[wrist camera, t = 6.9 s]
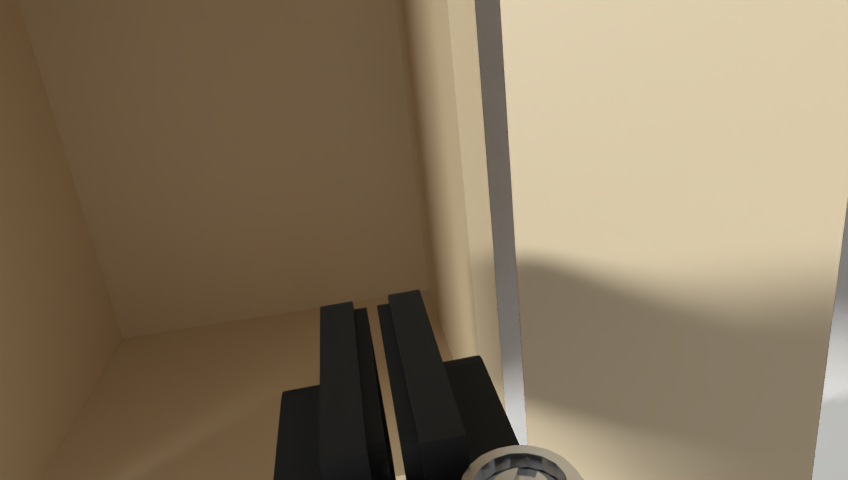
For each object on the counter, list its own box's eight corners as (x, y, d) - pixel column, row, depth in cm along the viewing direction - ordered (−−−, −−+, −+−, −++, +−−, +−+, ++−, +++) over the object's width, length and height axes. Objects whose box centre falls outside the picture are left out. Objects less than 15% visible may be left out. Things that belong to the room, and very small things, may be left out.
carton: (-45, -159, 18) (-415, -306, 9) (391, -198, 20) (453, -365, 10) (115, 347, 24) (-14, 570, 15) (444, 295, 25) (513, 472, 16)
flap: (937, -502, 8) (929, -488, 8) (476, -372, 10) (481, -364, 10) (806, 520, 14) (803, 510, 14) (529, 483, 15) (531, 474, 16)
